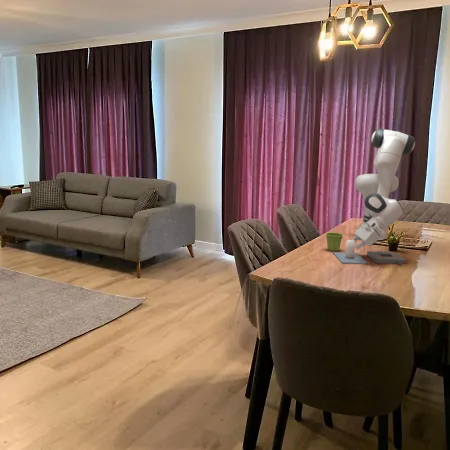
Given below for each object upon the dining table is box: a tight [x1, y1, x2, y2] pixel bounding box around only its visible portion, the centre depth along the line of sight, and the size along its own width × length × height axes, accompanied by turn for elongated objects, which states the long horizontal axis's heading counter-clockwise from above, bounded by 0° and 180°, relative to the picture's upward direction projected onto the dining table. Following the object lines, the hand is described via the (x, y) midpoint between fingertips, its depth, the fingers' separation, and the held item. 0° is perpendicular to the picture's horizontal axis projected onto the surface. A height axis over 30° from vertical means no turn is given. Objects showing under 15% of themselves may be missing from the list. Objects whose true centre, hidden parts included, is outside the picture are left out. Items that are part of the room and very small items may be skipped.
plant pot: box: [325, 231, 344, 252], centre depth 253 cm, size 9×9×9 cm
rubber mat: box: [332, 251, 368, 265], centre depth 236 cm, size 20×12×1 cm, turn 0°
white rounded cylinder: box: [345, 239, 356, 259], centre depth 236 cm, size 5×5×8 cm
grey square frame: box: [366, 250, 407, 267], centre depth 234 cm, size 21×14×2 cm, turn 0°
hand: (353, 245), depth 235 cm, fingers open, 8 cm apart
